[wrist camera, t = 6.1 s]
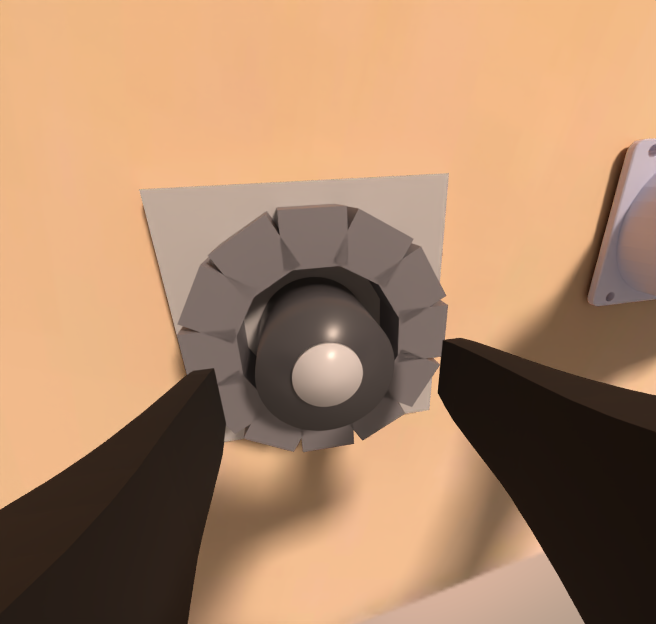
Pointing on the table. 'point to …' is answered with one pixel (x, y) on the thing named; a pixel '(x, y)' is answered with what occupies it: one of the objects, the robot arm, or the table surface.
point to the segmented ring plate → (296, 263)
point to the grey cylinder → (321, 356)
